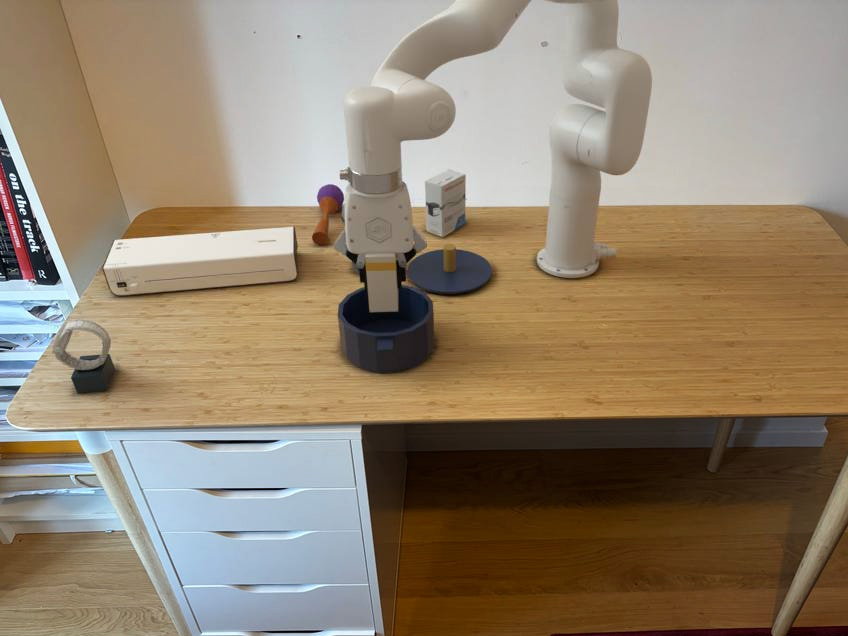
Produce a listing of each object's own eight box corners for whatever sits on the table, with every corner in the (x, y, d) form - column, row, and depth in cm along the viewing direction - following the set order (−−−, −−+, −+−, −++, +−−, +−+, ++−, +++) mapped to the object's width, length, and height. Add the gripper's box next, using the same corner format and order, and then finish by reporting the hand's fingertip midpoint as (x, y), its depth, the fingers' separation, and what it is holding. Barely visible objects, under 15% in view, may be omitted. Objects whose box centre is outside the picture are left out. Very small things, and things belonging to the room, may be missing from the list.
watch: (73, 372, 115) (49, 315, 108) (126, 368, 116) (106, 311, 109) (63, 394, 110) (38, 337, 103) (118, 390, 111) (97, 332, 105)
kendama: (301, 228, 147) (315, 181, 162) (310, 252, 151) (323, 204, 166) (329, 224, 146) (341, 177, 161) (338, 248, 150) (348, 200, 165)
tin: (431, 309, 131) (431, 274, 127) (436, 381, 115) (435, 343, 110) (346, 312, 130) (342, 276, 125) (338, 385, 113) (333, 347, 109)
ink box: (448, 217, 161) (448, 167, 154) (466, 223, 159) (466, 173, 152) (424, 231, 155) (423, 180, 148) (442, 238, 153) (442, 186, 146)
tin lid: (487, 252, 149) (488, 226, 145) (496, 295, 135) (497, 267, 132) (407, 254, 147) (406, 227, 144) (407, 298, 134) (406, 269, 130)
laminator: (298, 253, 147) (294, 225, 143) (299, 283, 137) (294, 255, 133) (122, 267, 141) (113, 239, 137) (110, 300, 131) (100, 271, 128)
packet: (398, 286, 120) (395, 233, 114) (398, 311, 114) (395, 256, 108) (371, 287, 119) (366, 233, 113) (369, 312, 113) (365, 256, 107)
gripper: (314, 189, 100) (328, 299, 111) (435, 187, 102) (436, 296, 113) (319, 168, 106) (332, 274, 117) (433, 167, 108) (435, 272, 119)
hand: (383, 284), depth 115 cm, fingers closed on packet, 4 cm apart
